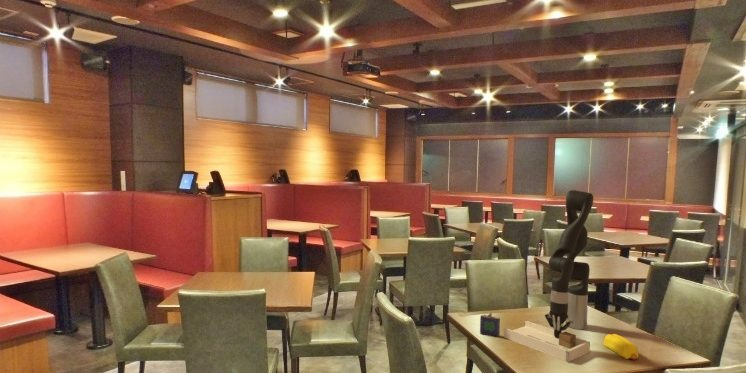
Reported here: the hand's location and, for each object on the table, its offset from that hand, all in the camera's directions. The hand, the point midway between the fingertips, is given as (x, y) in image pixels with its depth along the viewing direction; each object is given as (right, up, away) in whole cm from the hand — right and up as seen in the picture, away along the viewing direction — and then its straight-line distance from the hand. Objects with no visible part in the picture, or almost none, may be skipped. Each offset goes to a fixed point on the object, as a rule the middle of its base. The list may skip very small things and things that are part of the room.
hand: (557, 337), depth 201 cm
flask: (-28, -3, +12) cm, 30 cm away
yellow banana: (+25, -5, -6) cm, 27 cm away
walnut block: (+3, -2, -4) cm, 5 cm away
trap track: (-5, -4, +2) cm, 6 cm away
